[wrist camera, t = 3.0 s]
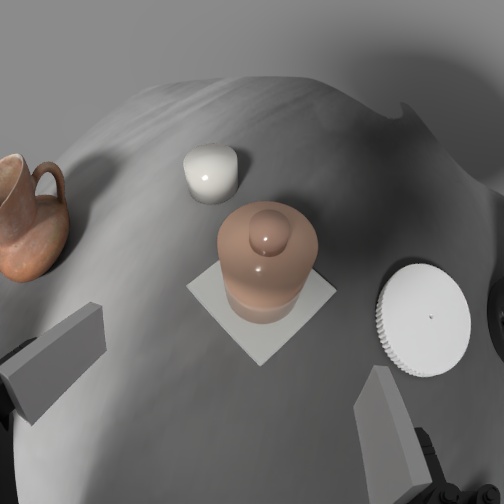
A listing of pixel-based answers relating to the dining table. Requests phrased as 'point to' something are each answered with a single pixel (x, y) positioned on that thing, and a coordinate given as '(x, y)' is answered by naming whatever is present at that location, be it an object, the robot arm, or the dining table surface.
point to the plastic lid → (423, 320)
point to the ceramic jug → (30, 220)
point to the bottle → (265, 259)
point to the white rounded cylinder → (211, 173)
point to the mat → (259, 335)
